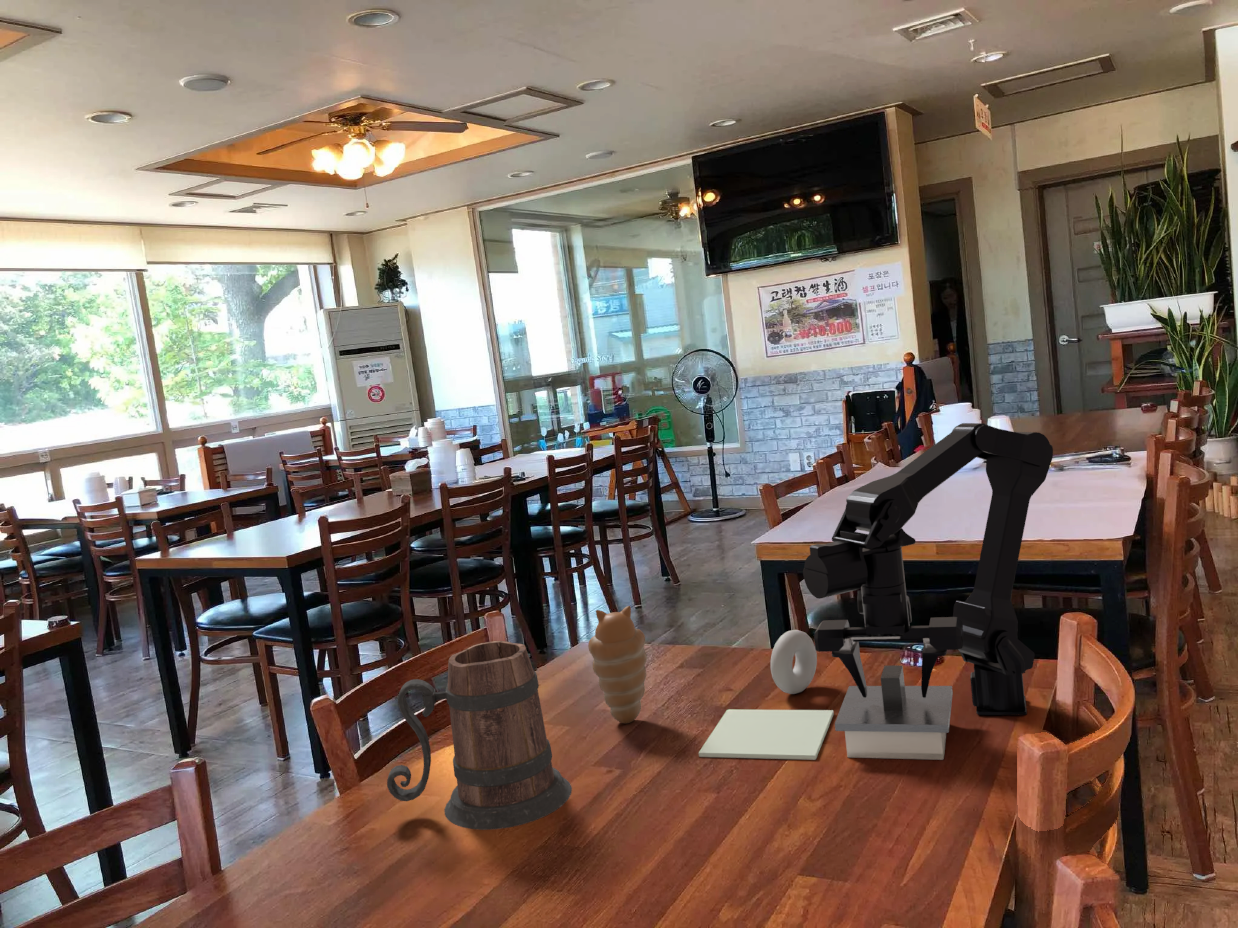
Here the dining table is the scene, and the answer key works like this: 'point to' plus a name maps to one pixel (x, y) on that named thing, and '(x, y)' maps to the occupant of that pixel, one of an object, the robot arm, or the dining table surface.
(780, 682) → the donut
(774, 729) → the mat
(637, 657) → the cat ice cream
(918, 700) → the lid
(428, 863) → the dining table surface
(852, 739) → the dish
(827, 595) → the robot arm
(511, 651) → the tankard
